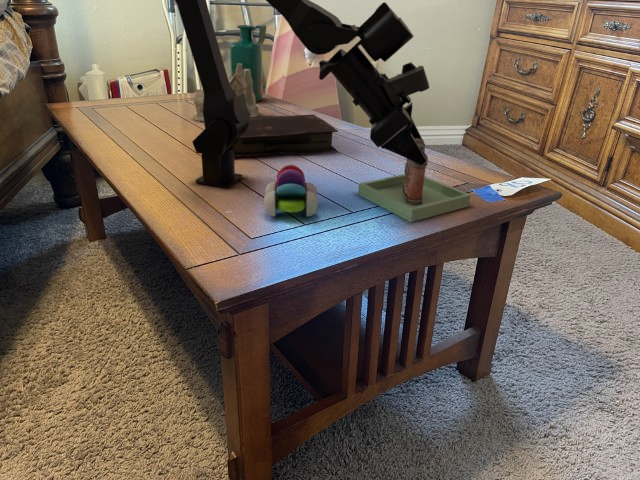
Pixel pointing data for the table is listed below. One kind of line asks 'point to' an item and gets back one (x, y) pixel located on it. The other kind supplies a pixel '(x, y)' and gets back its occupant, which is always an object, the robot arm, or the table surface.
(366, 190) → the dish
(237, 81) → the ceramic cottage
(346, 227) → the table surface
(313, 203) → the rainbow wheeled toy
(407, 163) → the lighter
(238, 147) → the diary
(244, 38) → the pitcher
